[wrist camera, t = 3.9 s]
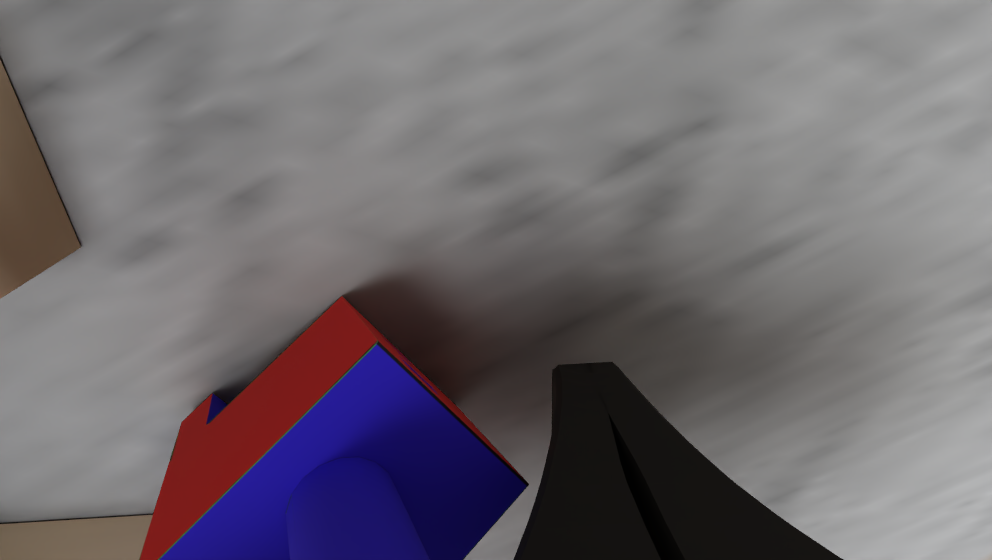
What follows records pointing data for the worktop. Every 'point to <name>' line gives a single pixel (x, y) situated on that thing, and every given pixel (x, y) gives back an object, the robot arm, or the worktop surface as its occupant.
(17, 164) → the beech bracket
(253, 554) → the toy building block
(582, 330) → the worktop surface
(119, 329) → the worktop surface
